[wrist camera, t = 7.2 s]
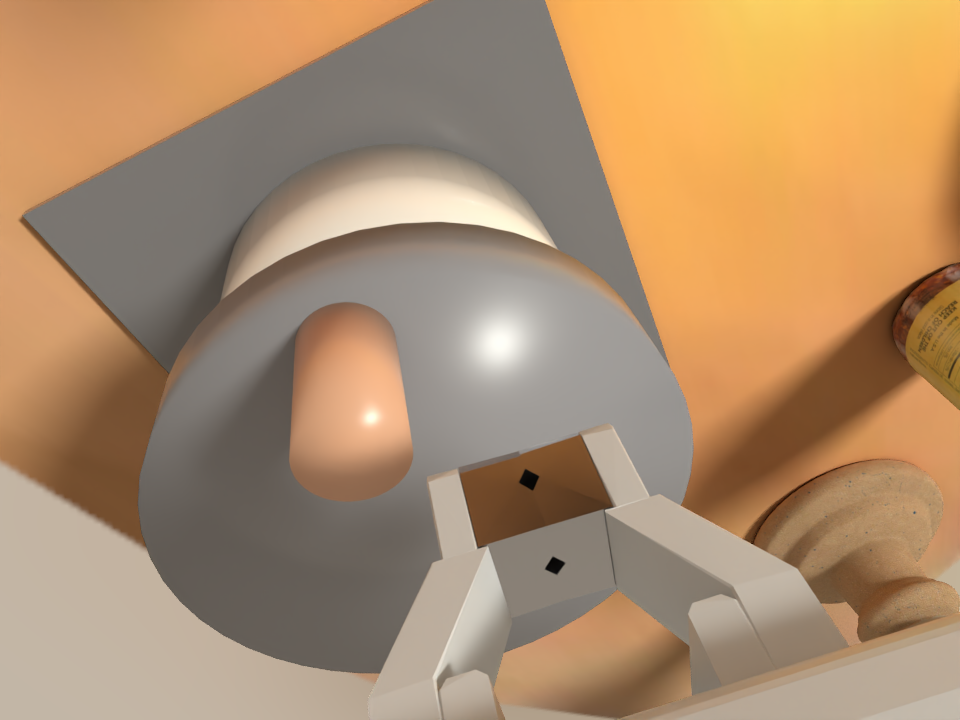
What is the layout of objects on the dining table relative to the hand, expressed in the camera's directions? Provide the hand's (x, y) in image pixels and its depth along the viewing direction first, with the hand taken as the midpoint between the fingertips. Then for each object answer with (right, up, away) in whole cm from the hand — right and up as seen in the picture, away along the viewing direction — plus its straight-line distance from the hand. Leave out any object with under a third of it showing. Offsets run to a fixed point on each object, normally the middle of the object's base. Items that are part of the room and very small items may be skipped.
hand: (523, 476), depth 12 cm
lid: (-3, -1, +12) cm, 12 cm away
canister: (-4, +4, +20) cm, 21 cm away
